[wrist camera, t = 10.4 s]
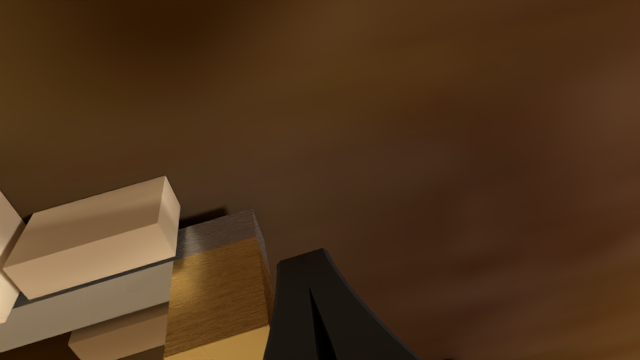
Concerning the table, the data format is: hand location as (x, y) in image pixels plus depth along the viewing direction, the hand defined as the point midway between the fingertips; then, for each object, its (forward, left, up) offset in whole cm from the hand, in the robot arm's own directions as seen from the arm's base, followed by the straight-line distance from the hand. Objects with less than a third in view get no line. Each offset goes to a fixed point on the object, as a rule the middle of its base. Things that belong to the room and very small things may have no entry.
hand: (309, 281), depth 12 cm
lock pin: (0, +7, -3) cm, 7 cm away
